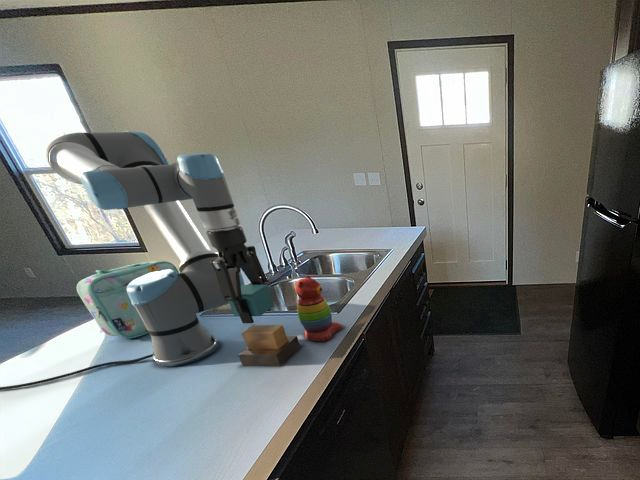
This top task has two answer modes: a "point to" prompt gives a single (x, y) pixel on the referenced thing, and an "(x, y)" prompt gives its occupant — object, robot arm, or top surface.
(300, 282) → the stacking bear
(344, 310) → the top surface
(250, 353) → the walnut base
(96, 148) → the robot arm
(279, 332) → the oak brick
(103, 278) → the lunch box
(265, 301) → the teal cube
